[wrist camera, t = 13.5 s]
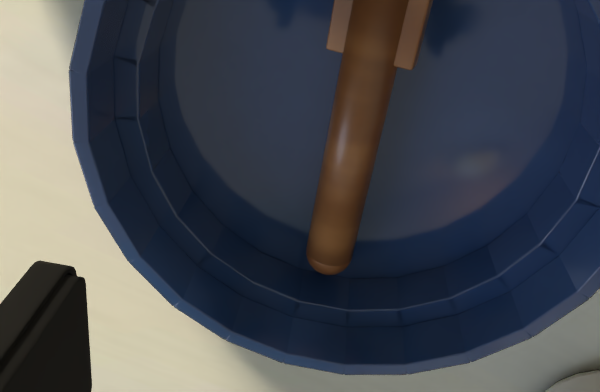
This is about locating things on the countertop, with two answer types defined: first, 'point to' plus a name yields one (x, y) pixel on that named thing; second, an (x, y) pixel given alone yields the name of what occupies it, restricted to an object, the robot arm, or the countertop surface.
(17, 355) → the robot arm
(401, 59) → the stirring stick
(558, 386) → the can
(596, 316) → the countertop surface
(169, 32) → the bowl
